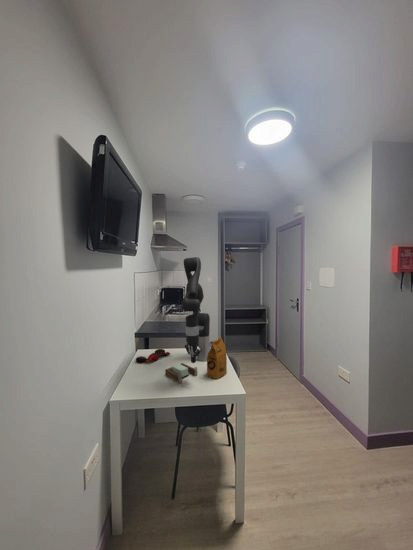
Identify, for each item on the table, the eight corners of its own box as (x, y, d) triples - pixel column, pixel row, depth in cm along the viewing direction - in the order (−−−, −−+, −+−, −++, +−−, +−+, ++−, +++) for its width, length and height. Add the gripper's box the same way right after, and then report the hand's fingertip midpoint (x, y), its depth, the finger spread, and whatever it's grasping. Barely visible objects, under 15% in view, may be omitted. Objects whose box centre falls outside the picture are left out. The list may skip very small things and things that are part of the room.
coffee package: (204, 376, 143) (203, 340, 142) (216, 368, 152) (215, 335, 152) (217, 380, 136) (216, 343, 136) (229, 372, 146) (228, 338, 145)
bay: (182, 368, 154) (182, 360, 154) (198, 375, 144) (197, 367, 143) (165, 375, 145) (164, 367, 145) (179, 383, 134) (179, 375, 134)
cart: (189, 375, 143) (189, 367, 143) (180, 379, 138) (180, 371, 138) (180, 371, 150) (180, 363, 149) (171, 375, 145) (171, 366, 145)
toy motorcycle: (133, 364, 166) (147, 366, 156) (132, 356, 167) (146, 358, 157) (160, 354, 186) (174, 355, 176) (160, 347, 186) (173, 348, 176)
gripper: (204, 334, 133) (206, 363, 134) (189, 329, 142) (190, 357, 143) (195, 337, 128) (196, 368, 129) (180, 332, 137) (181, 361, 138)
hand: (193, 362), depth 136 cm, fingers closed
